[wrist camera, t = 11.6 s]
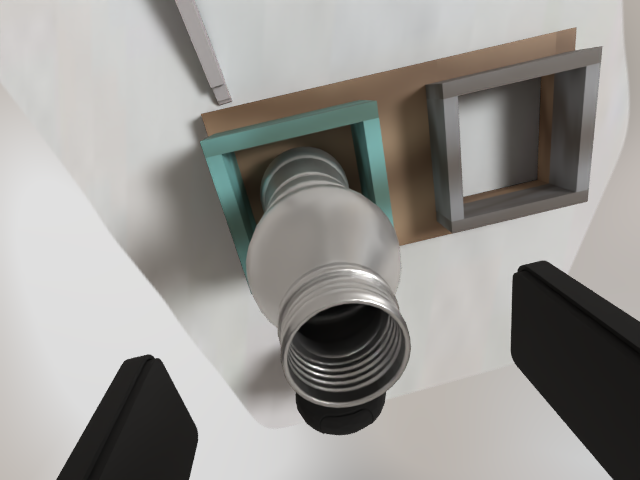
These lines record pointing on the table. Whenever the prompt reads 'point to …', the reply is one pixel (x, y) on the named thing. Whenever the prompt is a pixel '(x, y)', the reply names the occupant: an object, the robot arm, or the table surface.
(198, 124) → the table surface
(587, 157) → the sorting tray
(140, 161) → the table surface
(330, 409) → the webcam
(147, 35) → the table surface
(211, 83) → the caliper
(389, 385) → the metal bottle
